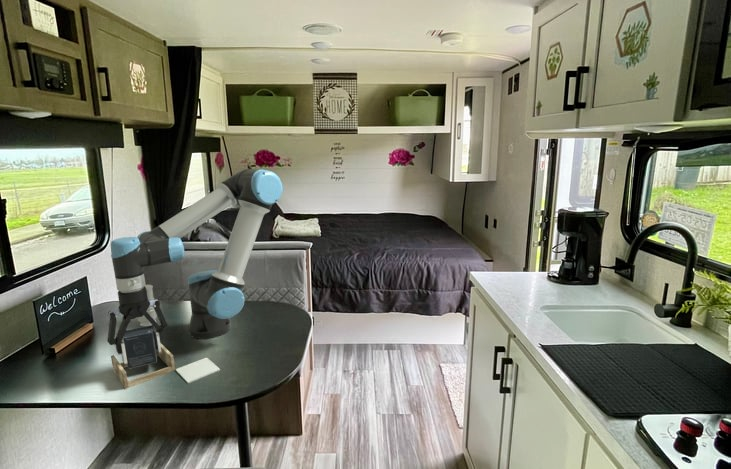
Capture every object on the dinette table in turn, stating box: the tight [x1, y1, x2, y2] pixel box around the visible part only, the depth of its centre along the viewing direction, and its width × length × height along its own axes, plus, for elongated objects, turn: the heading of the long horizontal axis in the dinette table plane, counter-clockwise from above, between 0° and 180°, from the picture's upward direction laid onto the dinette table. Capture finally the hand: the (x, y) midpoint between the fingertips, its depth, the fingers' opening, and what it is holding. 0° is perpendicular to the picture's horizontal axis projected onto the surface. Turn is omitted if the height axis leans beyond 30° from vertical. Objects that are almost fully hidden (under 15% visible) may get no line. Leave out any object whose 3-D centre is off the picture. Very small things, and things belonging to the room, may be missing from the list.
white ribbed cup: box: [137, 284, 158, 327], centre depth 159 cm, size 7×7×15 cm
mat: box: [175, 357, 221, 384], centre depth 126 cm, size 10×10×1 cm
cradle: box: [110, 342, 176, 390], centre depth 126 cm, size 14×14×5 cm
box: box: [122, 325, 158, 369], centre depth 125 cm, size 8×6×11 cm
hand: (142, 355), depth 126 cm, fingers closed on box, 9 cm apart
